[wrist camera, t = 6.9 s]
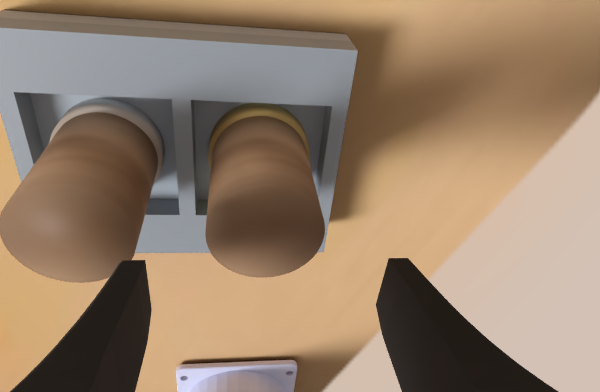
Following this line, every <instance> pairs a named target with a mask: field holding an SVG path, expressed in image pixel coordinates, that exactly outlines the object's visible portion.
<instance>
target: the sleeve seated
mask: <svg viewBox="0 0 600 392" xmlns="http://www.w3.org/2000/svg"><path fill="white" fill-rule="evenodd" d="M164 155H165V146H164V141H163V137H162V135H161V133H160V130H159V129H158V127H157V126H156V124H155V123H154V122H153V121H152V119H151V118H149V117H148V116H147V115H146V114H145V113H144V112H142V111H141V110H140V109H138V108H136V107H135V106H133V105H130V104H128V103H126V102H123V101H119V100H115V99H108V98H96V99H90V100H86V101H83V102H80V103H78V104H76V105H75V106H73V107H72V108H70V109H69V110H68V111H67V112H66V113H65V114H64V116H63V117H62V118H61V120H60V121H59V122H58V124H57V125H56V127H55V128H54V130H53V132H52V134H51V137H50V142H49V144H48V146H47V147H46V148H45V150H44V151H43V153H42V154H41V156H40V157H39V158H38V160H37V161H36V163H35V164H34V166H33V167H32V168H31V170H30V171H29V173H28V174H27V175H26V177H25V178H24V180H23V181H22V183H21V184H20V185H19V187H18V188H17V190H16V191H15V192H14V194H13V195H12V197H11V198H10V200H9V201H8V202H7V204H6V205H5V207H4V209H3V210H2V212H1V215H0V235H1V238H2V241H3V243H4V245H5V246H6V248H7V249H8V251H9V252H10V253H11V254H12V255H13V256H14V257H15V258H16V259H17V260H18V261H19V262H20V263H22V264H23V265H24V266H26V267H27V268H29V269H31V270H32V271H34V272H36V273H38V274H41V275H43V276H46V277H49V278H52V279H56V280H60V281H66V282H78V283H83V282H93V281H99V280H103V279H106V278H109V277H110V276H111V275H112V273H113V272H114V270H115V269H116V267H117V266H118V264H119V263H120V262H121V261H123V260H132V258H133V256H134V253H135V250H136V247H137V243H138V239H139V235H140V232H141V228H142V224H143V221H144V217H145V213H146V210H147V206H148V202H149V198H150V195H151V191H152V187H153V185H154V184H155V182H156V181H157V179H158V177H159V175H160V172H161V168H162V164H163V160H164Z"/></svg>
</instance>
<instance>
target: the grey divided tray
mask: <svg viewBox="0 0 600 392" xmlns="http://www.w3.org/2000/svg"><path fill="white" fill-rule="evenodd" d="M357 53H358V50H357V49H356V47H355V46H354V44H353V43H352V41H351V40H350V39H349V37H348V36H347V34H339V33H325V32H311V31H296V30H282V29H268V28H253V27H239V26H224V25H210V24H196V23H181V22H167V21H153V20H138V19H124V18H109V17H95V16H81V15H66V14H52V13H37V12H23V11H9V10H2V11H0V113H1V117H2V120H3V123H4V126H5V130H6V133H7V136H8V140H9V143H10V146H11V150H12V153H13V156H14V159H15V163H16V166H17V169H18V173H19V176H20V179H21V183H22V181H23V180H24V178H25V177H26V175H27V174H28V173H29V171H30V170H31V168H32V167H33V166H34V164H35V163H36V161H37V160H38V158H39V157H40V156H41V154H42V153H43V151H44V150H45V148H46V147H47V146H48V144H49V142H50V137H51V134H52V132H53V130H54V128H55V127H56V125H57V124H58V122H59V121H60V120H61V118H62V117H63V116H64V114H65V113H66V112H67V111H68V110H69V109H70V108H72V107H73V106H75V105H76V104H78V103H80V102H83V101H86V100H90V99H96V98H108V99H115V100H119V101H123V102H126V103H128V104H130V105H133V106H135V107H136V108H138V109H140V110H141V111H142V112H144V113H145V114H146V115H147V116H148V117H149V118H151V119H152V121H153V122H154V123H155V124H156V126H157V127H158V129H159V130H160V133H161V135H162V137H163V141H164V146H165V155H164V160H163V164H162V168H161V172H160V175H159V177H158V179H157V181H156V182H155V184H154V185H153V187H152V191H151V195H150V198H149V202H148V206H147V210H146V213H145V217H144V221H143V224H142V228H141V232H140V235H139V239H138V243H137V247H136V250H135V253H211V252H210V250H209V248H208V246H207V243H206V237H205V231H206V219H207V207H208V196H209V184H210V173H211V170H210V166H209V160H208V154H209V143H210V137H211V133H212V131H213V128H214V127H215V125H216V123H217V122H218V121H219V119H220V118H221V117H222V116H223V115H224V114H226V113H227V112H228V111H230V110H232V109H233V108H235V107H238V106H240V105H243V104H247V103H270V104H275V105H277V106H280V107H282V108H284V109H286V110H287V111H289V112H290V113H292V114H293V115H294V116H295V117H296V118H297V119H298V121H299V122H300V123H301V125H302V127H303V129H304V131H305V134H306V138H307V142H308V146H309V151H310V161H309V164H310V168H311V172H312V175H313V179H314V183H315V187H316V191H317V195H318V199H319V203H320V207H321V211H322V214H323V218H324V222H325V235H324V239H323V242H322V245H321V247H320V248H319V250H318V252H324V248H325V242H326V236H327V230H328V224H329V218H330V212H331V206H332V201H333V195H334V189H335V183H336V177H337V171H338V165H339V159H340V153H341V148H342V142H343V136H344V130H345V124H346V118H347V112H348V106H349V100H350V95H351V89H352V83H353V77H354V71H355V65H356V59H357Z"/></svg>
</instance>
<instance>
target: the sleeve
mask: <svg viewBox="0 0 600 392" xmlns="http://www.w3.org/2000/svg"><path fill="white" fill-rule="evenodd" d="M208 160H209V166H210V170H211V173H210V184H209V196H208V207H207V219H206V231H205V237H206V243H207V246H208V248H209V250H210V252H211V254H212V255H213V257H214V258H215V259H216V260H217V261H218V262H219V263H220V264H222V265H223V266H224V267H226V268H227V269H229V270H231V271H233V272H235V273H238V274H241V275H245V276H250V277H274V276H279V275H283V274H286V273H289V272H292V271H294V270H296V269H298V268H300V267H301V266H303V265H304V264H306V263H307V262H308V261H309V260H311V259H312V258H313V257H314V255H315V254H316V253H317V252H318V250H319V248H320V247H321V245H322V242H323V239H324V235H325V222H324V218H323V214H322V211H321V207H320V203H319V199H318V195H317V191H316V187H315V183H314V179H313V175H312V172H311V168H310V164H309V161H310V151H309V146H308V142H307V138H306V134H305V131H304V129H303V127H302V125H301V123H300V122H299V121H298V119H297V118H296V117H295V116H294V115H293V114H292V113H290V112H289V111H287V110H286V109H284V108H282V107H280V106H277V105H275V104H270V103H247V104H243V105H240V106H238V107H235V108H233V109H232V110H230V111H228V112H227V113H226V114H224V115H223V116H222V117H221V118H220V119H219V121H218V122H217V123H216V125H215V127H214V128H213V131H212V133H211V137H210V143H209V154H208Z"/></svg>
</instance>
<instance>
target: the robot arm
mask: <svg viewBox="0 0 600 392" xmlns="http://www.w3.org/2000/svg"><path fill="white" fill-rule="evenodd" d="M376 307H377V312H378V317H379V322H380V326H381V331H382V335H383V338H384V341H385V344H386V347H387V350H388V353H389V356H390V358H391V361H392V364H393V367H394V370H395V373H396V376H397V378H398V381H399V384H400V387H401V390H402V392H558V391H556V390H555V389H553V388H552V387H550V386H549V385H547V384H546V383H544V382H543V381H542V380H540V379H539V378H537V377H536V376H535V375H533V374H532V373H530V372H529V371H527V370H526V369H525V368H523V367H522V366H521V365H519V364H518V363H517V362H515V361H514V360H513V359H511V358H510V357H509V356H508V355H506V354H505V353H504V352H503V351H502V350H500V349H499V348H498V347H496V346H495V345H494V344H493V343H492V342H491V341H489V340H488V339H487V338H486V337H485V336H484V335H482V334H481V333H480V332H479V331H478V330H477V329H476V328H475V327H474V326H473V325H471V324H470V323H469V322H468V321H467V320H466V319H465V318H464V317H463V316H462V315H461V314H460V313H459V312H458V311H457V310H456V309H455V308H454V307H453V306H452V305H451V304H450V303H449V302H448V301H447V300H446V299H445V298H444V297H443V296H442V295H441V294H440V293H439V292H438V290H437V289H436V288H435V287H434V286H433V285H432V284H431V283H430V282H429V281H428V280H427V279H426V277H425V276H424V275H423V274H422V273H421V272H420V271H419V270H418V269H417V268H416V267H415V265H414V264H413V263H412V262H411V261H410V260H409V259H408V258H389V260H388V263H387V267H386V270H385V274H384V278H383V281H382V285H381V288H380V292H379V295H378V299H377V303H376ZM151 310H152V309H151V302H150V294H149V287H148V279H147V271H146V264H145V260H123V261H121V262H120V263H119V264H118V266H117V267H116V269H115V270H114V272H113V273H112V275H111V276H110V278H109V279H108V281H107V282H106V284H105V285H104V287H103V288H102V289H101V291H100V292H99V293H98V295H97V296H96V298H95V299H94V300H93V302H92V303H91V304H90V305H89V307H88V308H87V309H86V311H85V312H84V313H83V314H82V316H81V317H80V318H79V319H78V321H77V322H76V323H75V324H74V326H73V327H72V328H71V329H70V330H69V331H68V332H67V334H66V335H65V336H64V337H63V338H62V339H61V341H60V342H59V343H58V344H57V345H56V346H55V347H54V349H53V350H52V351H51V352H50V353H49V354H48V355H47V356H46V357H45V358H44V359H43V360H42V361H41V362H40V363H39V364H38V365H37V366H36V367H35V368H34V369H33V370H32V371H31V372H30V373H29V374H28V375H27V376H26V377H25V378H24V379H23V380H22V381H21V382H20V383H19V384H18V385H17V386H16V387H15V388H14V389H13V390H11V391H10V392H135V389H136V385H137V381H138V377H139V373H140V369H141V366H142V362H143V358H144V354H145V350H146V345H147V340H148V333H149V326H150V318H151ZM296 374H297V362H296V361H294V360H273V361H249V362H225V363H201V364H182V365H179V366H178V367H177V369H176V379H177V390H178V392H294V387H295V380H296Z"/></svg>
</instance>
